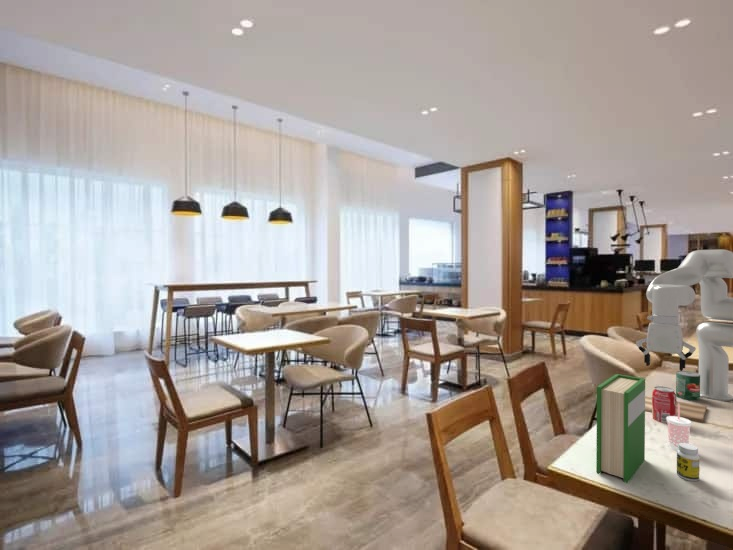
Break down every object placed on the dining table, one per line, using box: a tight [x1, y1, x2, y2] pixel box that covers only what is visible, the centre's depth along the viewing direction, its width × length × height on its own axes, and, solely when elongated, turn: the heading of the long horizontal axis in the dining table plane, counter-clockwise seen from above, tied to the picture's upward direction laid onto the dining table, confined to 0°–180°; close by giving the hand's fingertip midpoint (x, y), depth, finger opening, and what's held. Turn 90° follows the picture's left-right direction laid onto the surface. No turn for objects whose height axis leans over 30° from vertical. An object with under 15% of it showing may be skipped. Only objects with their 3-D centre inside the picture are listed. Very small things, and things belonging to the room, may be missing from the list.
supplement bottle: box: [676, 443, 701, 482], centre depth 106 cm, size 5×5×8 cm
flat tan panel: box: [645, 395, 652, 413], centre depth 157 cm, size 18×10×2 cm, turn 136°
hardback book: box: [595, 373, 646, 484], centre depth 112 cm, size 18×7×24 cm, turn 133°
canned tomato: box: [675, 370, 701, 402], centre depth 165 cm, size 8×8×11 cm
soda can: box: [651, 385, 678, 424], centre depth 143 cm, size 7×7×12 cm
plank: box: [676, 400, 708, 424], centre depth 149 cm, size 18×10×2 cm, turn 136°
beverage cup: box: [666, 403, 693, 451], centre depth 122 cm, size 6×6×14 cm
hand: (664, 367), depth 142 cm, fingers open, 9 cm apart
